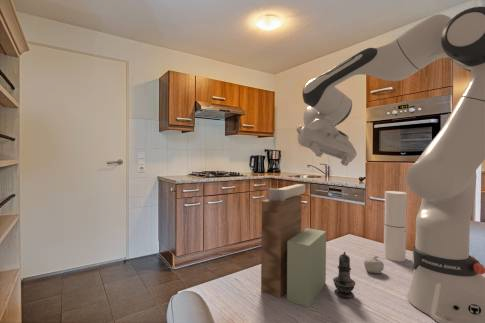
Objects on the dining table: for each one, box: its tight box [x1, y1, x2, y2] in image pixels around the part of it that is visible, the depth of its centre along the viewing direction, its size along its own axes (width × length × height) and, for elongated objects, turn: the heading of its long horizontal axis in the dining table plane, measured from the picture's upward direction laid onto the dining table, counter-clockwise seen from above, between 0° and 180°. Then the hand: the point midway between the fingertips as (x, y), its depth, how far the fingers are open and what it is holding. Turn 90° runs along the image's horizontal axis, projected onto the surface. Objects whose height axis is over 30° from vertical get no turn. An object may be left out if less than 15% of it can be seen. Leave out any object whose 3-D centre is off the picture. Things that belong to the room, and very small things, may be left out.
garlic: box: [363, 255, 385, 274], centre depth 87 cm, size 6×5×5 cm
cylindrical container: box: [383, 190, 408, 262], centre depth 99 cm, size 7×7×25 cm
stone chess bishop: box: [332, 251, 356, 300], centre depth 73 cm, size 6×6×12 cm
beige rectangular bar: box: [267, 183, 306, 201], centre depth 83 cm, size 5×20×3 cm, turn 146°
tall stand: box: [260, 195, 302, 298], centre depth 79 cm, size 6×15×26 cm, turn 146°
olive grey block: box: [286, 227, 327, 308], centre depth 74 cm, size 6×15×16 cm, turn 146°
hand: (333, 159), depth 80 cm, fingers open, 8 cm apart
